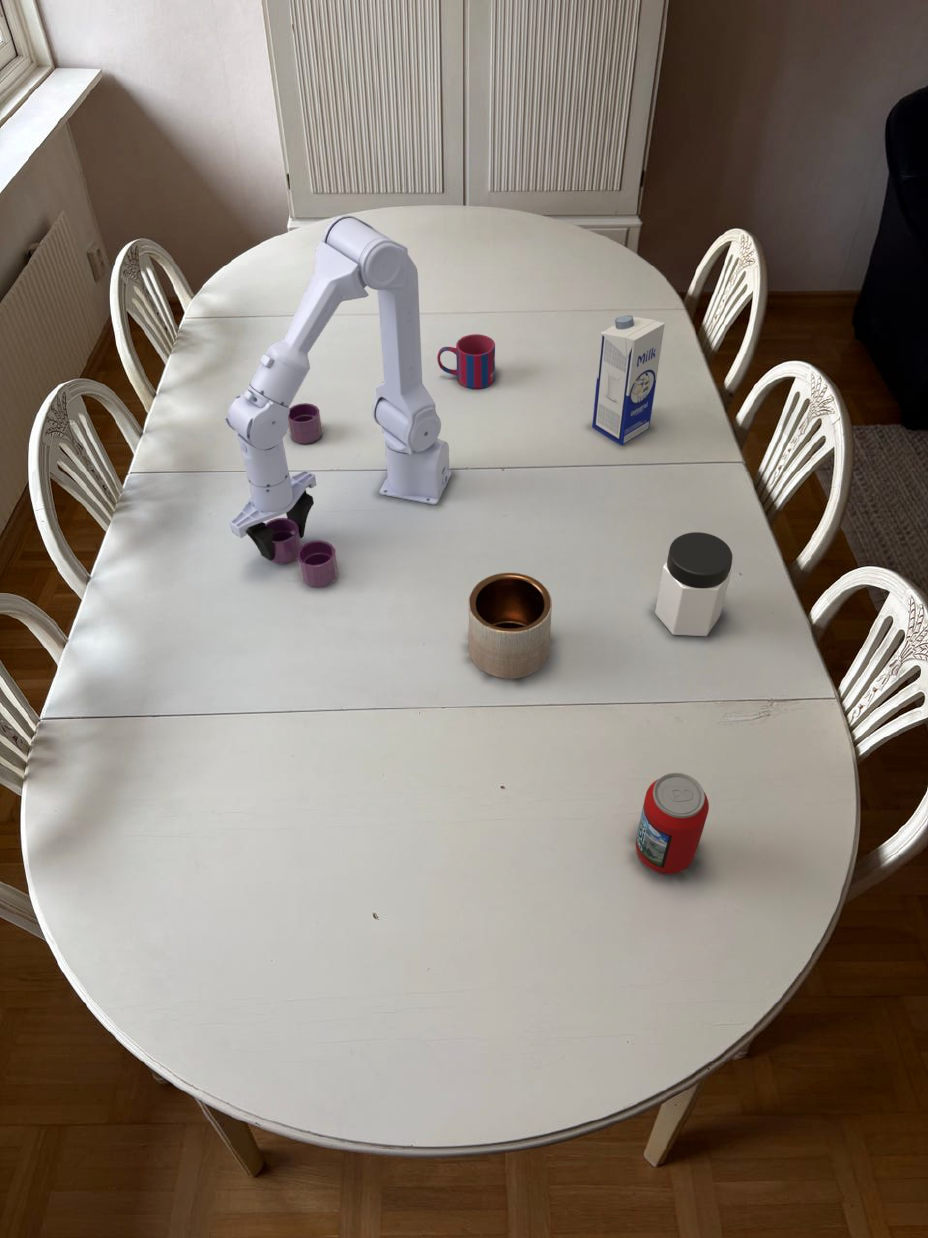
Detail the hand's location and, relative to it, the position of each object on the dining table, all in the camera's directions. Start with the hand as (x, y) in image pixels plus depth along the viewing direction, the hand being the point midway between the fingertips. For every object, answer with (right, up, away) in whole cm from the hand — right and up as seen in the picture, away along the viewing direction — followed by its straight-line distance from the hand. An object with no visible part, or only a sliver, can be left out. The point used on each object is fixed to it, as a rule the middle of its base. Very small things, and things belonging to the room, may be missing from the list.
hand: (283, 545), depth 147 cm
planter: (+33, -15, -12) cm, 38 cm away
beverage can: (+50, -37, -33) cm, 70 cm away
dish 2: (0, +20, +20) cm, 28 cm away
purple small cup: (+6, -5, -2) cm, 8 cm away
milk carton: (+53, +21, +20) cm, 60 cm away
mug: (+27, +32, +30) cm, 52 cm away
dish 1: (0, -1, +1) cm, 1 cm away
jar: (+58, -10, -9) cm, 59 cm away
